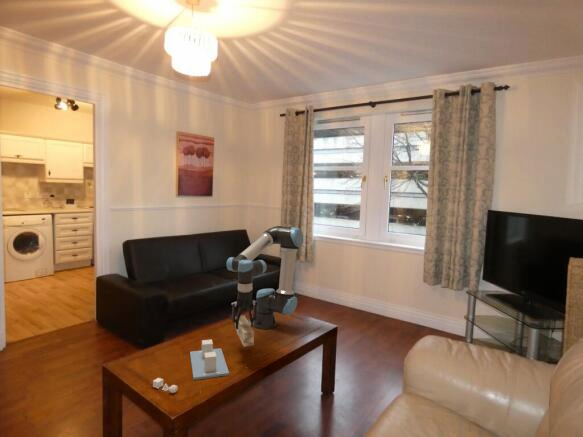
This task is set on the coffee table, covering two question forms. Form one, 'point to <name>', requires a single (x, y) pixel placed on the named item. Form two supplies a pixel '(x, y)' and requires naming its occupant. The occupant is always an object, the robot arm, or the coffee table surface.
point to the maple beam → (245, 332)
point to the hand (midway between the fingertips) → (243, 333)
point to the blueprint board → (200, 365)
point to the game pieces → (159, 383)
